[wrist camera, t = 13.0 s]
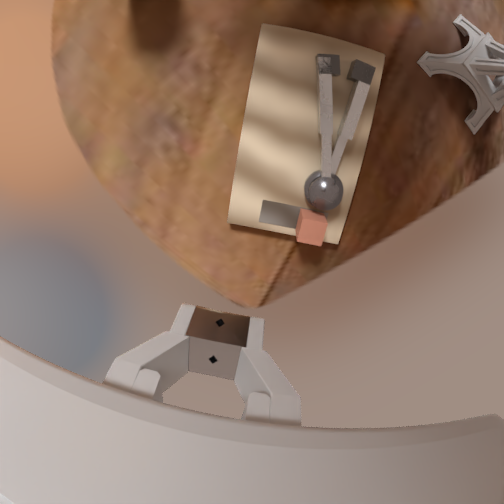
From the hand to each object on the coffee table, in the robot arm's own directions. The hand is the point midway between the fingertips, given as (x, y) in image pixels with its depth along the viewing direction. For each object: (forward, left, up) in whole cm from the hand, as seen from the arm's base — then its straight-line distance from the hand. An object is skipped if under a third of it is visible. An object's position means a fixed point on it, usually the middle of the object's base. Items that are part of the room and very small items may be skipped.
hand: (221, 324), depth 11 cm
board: (-5, +4, -29) cm, 30 cm away
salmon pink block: (+5, +7, -27) cm, 29 cm away
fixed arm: (-6, +9, -27) cm, 29 cm away
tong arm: (-6, +6, -27) cm, 29 cm away
